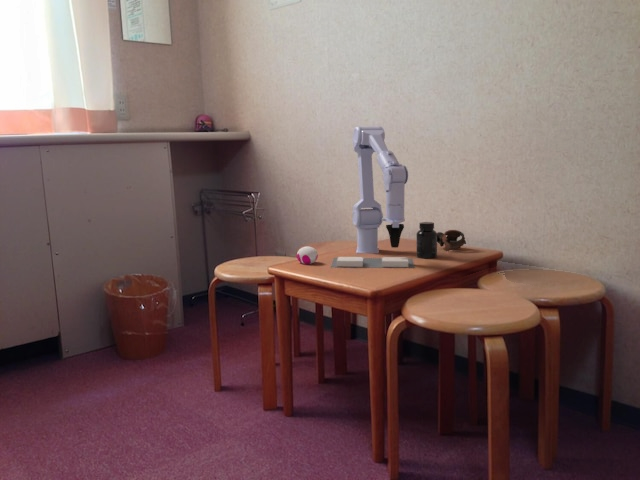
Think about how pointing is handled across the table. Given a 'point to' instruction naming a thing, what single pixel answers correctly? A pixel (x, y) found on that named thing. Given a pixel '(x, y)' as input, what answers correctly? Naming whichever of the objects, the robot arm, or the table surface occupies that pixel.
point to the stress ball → (307, 255)
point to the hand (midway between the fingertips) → (394, 247)
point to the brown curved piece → (450, 239)
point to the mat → (374, 263)
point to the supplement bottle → (426, 241)
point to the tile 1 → (350, 262)
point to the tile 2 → (394, 262)
